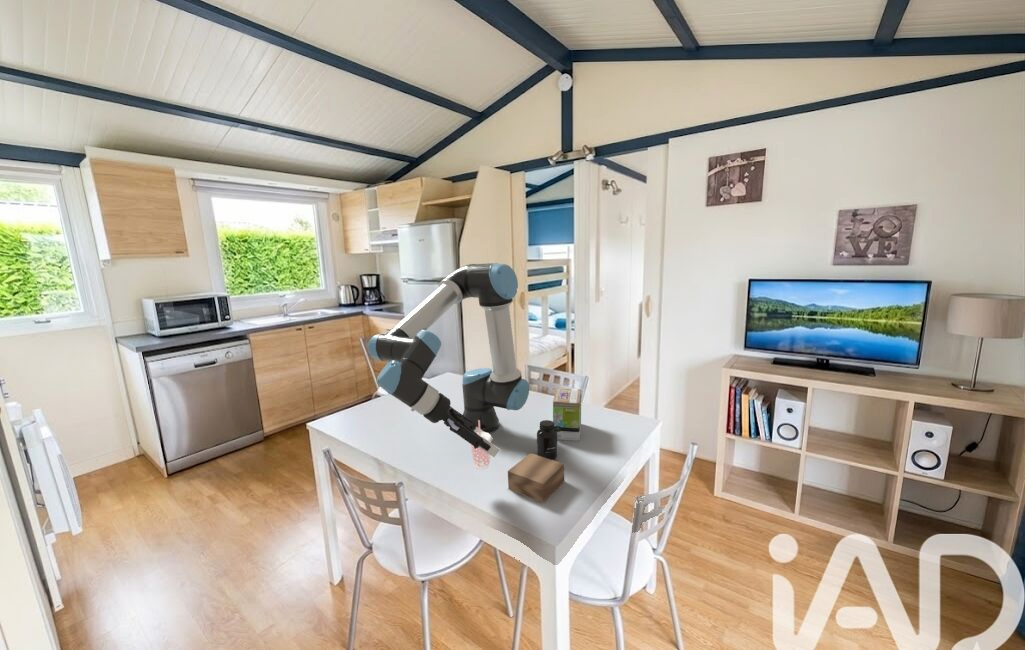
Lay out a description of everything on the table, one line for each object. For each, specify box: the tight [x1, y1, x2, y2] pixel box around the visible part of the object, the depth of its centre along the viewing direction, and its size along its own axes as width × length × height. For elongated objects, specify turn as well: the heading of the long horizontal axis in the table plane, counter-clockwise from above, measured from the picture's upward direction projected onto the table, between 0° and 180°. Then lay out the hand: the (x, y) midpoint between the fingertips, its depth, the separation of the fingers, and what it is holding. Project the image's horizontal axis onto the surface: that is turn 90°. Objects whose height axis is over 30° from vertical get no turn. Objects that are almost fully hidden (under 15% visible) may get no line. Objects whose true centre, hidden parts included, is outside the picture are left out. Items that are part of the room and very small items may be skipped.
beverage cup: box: [470, 420, 492, 471], centre depth 112 cm, size 6×6×14 cm
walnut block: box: [507, 452, 565, 503], centre depth 116 cm, size 12×12×6 cm
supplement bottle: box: [536, 419, 558, 461], centre depth 131 cm, size 7×7×12 cm
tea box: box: [552, 387, 582, 442], centre depth 148 cm, size 15×10×15 cm, turn 168°
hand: (493, 447), depth 113 cm, fingers closed on beverage cup, 6 cm apart
